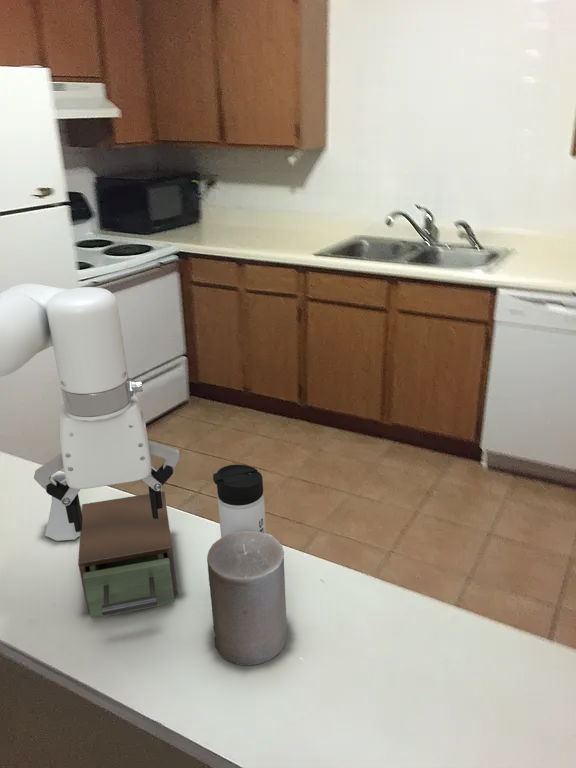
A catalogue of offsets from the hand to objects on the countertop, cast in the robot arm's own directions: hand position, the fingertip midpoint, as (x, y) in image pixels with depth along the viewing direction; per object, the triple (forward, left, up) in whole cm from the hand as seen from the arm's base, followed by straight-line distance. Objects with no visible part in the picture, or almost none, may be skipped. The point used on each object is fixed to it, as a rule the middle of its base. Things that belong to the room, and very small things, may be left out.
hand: (117, 519), depth 84 cm
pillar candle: (+15, -7, -18) cm, 24 cm away
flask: (-10, +25, -17) cm, 32 cm away
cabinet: (0, +11, -17) cm, 21 cm away
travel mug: (+16, +2, -17) cm, 24 cm away
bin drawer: (0, +6, -16) cm, 17 cm away
